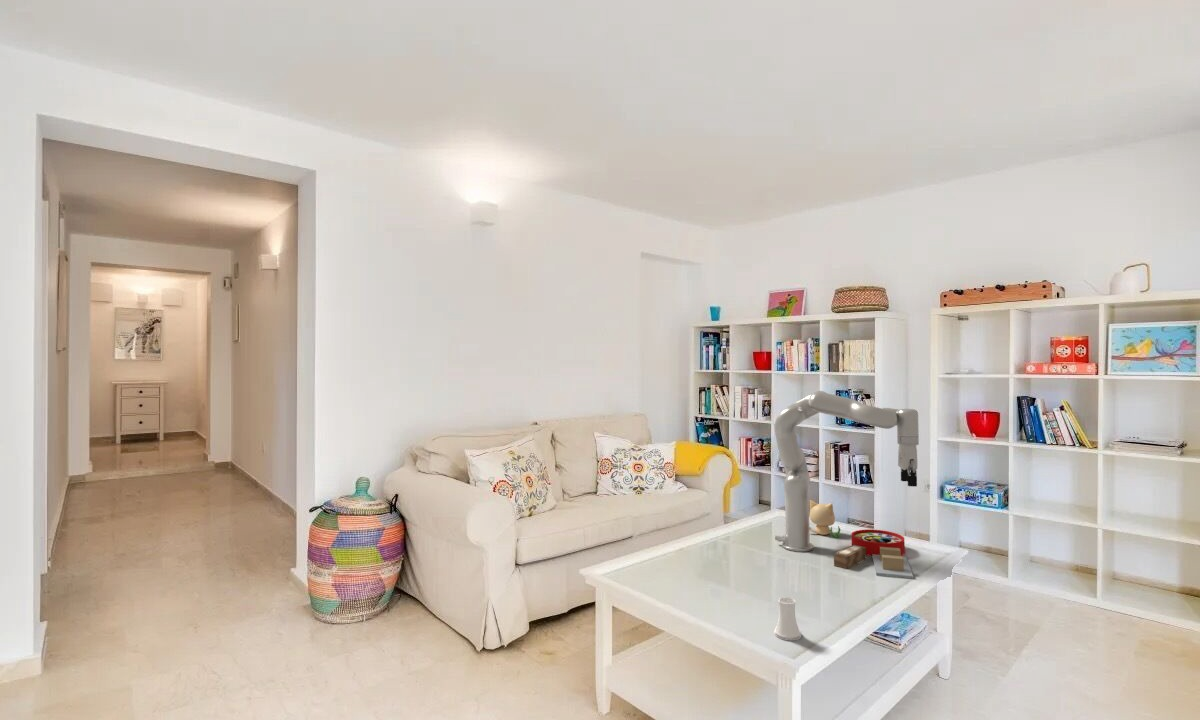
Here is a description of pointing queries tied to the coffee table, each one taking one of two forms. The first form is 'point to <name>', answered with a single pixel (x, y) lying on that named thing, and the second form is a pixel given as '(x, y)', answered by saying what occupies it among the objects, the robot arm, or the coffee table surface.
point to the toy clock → (877, 540)
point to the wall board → (891, 572)
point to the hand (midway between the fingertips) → (908, 483)
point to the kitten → (822, 518)
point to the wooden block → (849, 556)
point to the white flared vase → (787, 620)
